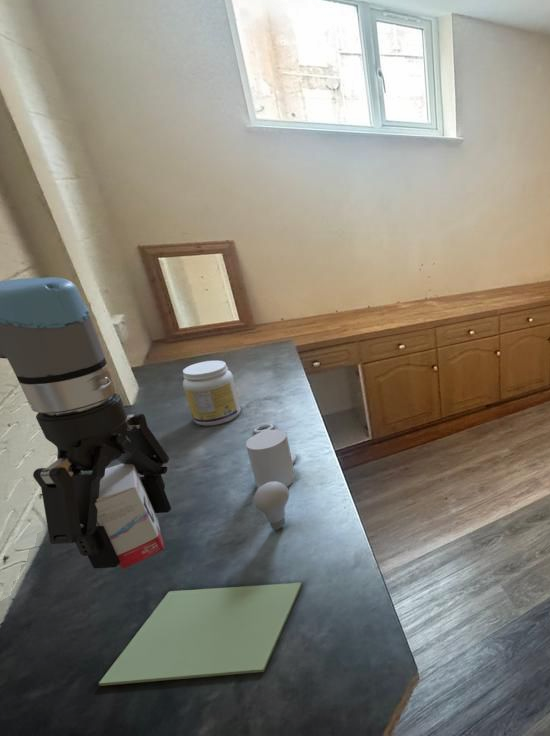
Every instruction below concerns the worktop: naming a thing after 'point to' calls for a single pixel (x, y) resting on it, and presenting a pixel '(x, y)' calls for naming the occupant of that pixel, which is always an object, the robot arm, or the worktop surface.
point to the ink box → (128, 515)
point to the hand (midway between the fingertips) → (136, 536)
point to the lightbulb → (272, 502)
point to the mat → (206, 634)
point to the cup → (271, 457)
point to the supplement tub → (211, 393)
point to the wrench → (257, 430)
